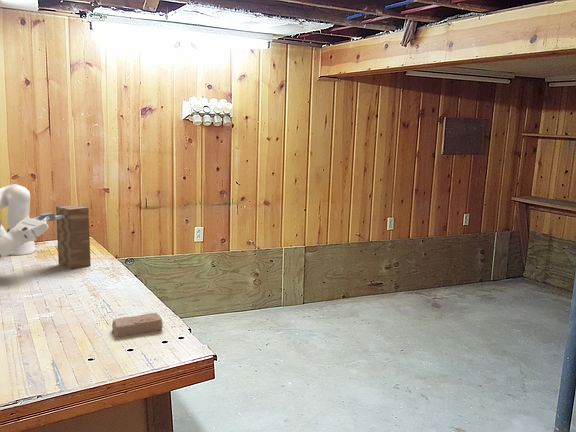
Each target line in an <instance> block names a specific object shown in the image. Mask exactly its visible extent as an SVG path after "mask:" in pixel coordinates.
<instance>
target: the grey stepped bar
mask: <svg viewBox="0 0 576 432" xmlns="http://www.w3.org/2000/svg"><path fill="white" fill-rule="evenodd" d="M55 213H56V212H45V213H39V214H38V216H39V220H40V221H41V220H43V219H44V217H46V216H49V218H50V219H49V220H48V221H47V222H46V223H48V222H53V221H57V219H62V218H65V215H64V214H63V215H58V216H56V215H55Z"/></svg>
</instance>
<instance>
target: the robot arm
mask: <svg viewBox="0 0 576 432" xmlns="http://www.w3.org/2000/svg"><path fill="white" fill-rule="evenodd" d="M7 207H8V208H7ZM5 208H7V214H6V215H7V216H6V219H7V229H5V227H4V226H3V225H2V222H1V221H0V259H4V258H5V257H8V256H22V255H23V256H24V255H30V254H32V253H35V252H36V251H38V248H37V247H36V246H35V241H36V240H37V239H38V238H39V237H40V236H42V234H44V233H46V231H48V230H49V228H50V226H49V225H48V222H49V221H48V220H49V219H50V218H49V216H46V217H44V219H43V220H41V221H40V220H39V215H38V216H36V217H33V218H31V217H30V208H31V193H30V190H29V189H27V187H25V186H23V185H20V184H17V183H16V184H15V183H14V184H13V183H12V184H9V185H6V186H3V187H0V211H1V210H3V209H5ZM47 221H48V222H47Z"/></svg>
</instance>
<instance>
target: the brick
mask: <svg viewBox="0 0 576 432" xmlns="http://www.w3.org/2000/svg"><path fill="white" fill-rule="evenodd" d="M111 325H112V332H113V334H114V337H116V338H119V337H125V336H126V337H127V336H132V335H140V334H145V333H146V334H147V333H152V332H157V331H159V330H162V329H163V319H162V317H161V315H159V313H157V312H150V313H143V314H141V315H134V316H125V317H120V318H114V319H113V320H112V324H111Z"/></svg>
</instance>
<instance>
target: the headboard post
mask: <svg viewBox="0 0 576 432" xmlns="http://www.w3.org/2000/svg"><path fill="white" fill-rule="evenodd" d="M55 213H56V215H55V216H58V215H63V214H64V215H65V218H62V219H57V220H56V233H57V234H56V235H57V254H58V256H57V257H58V266H61V267H64V268H67V269H70V270H77V269H82V268H88V267H91V264H92V263H91V244H90V243H91V240H90V236H91V235H90V216H89V215H90V214H89V213H90V212H89V207H86V206H81V205H75V204H71V205H69V204H68V205H60V206H55Z"/></svg>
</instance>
